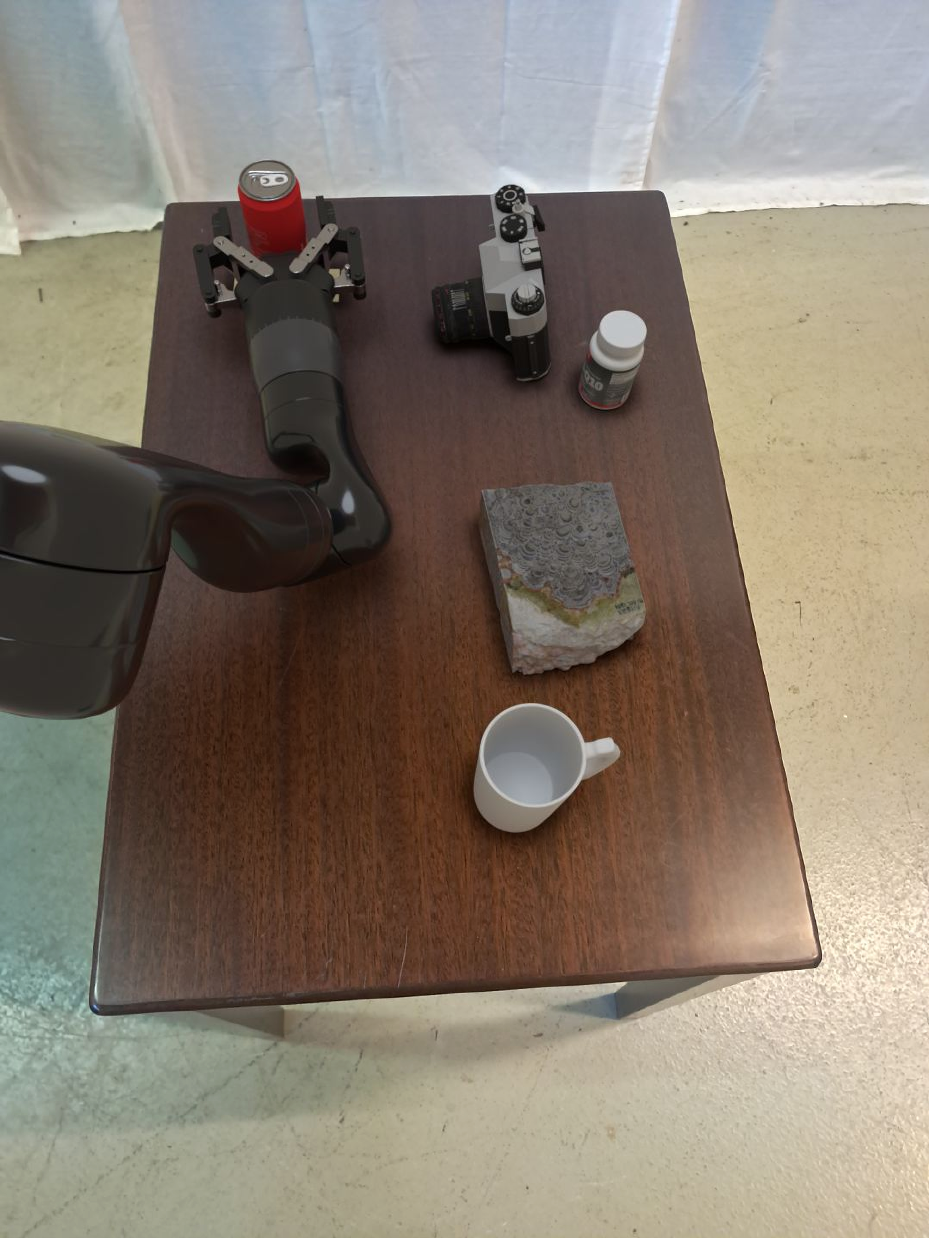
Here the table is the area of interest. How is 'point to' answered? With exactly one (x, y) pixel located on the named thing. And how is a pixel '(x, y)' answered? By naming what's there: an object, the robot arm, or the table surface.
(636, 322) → the pill bottle
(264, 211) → the beverage can
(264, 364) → the robot arm
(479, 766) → the mug
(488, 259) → the camera
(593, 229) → the table surface
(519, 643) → the geological specimen
